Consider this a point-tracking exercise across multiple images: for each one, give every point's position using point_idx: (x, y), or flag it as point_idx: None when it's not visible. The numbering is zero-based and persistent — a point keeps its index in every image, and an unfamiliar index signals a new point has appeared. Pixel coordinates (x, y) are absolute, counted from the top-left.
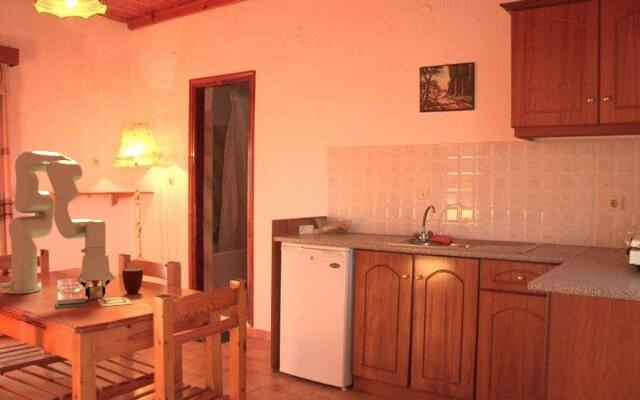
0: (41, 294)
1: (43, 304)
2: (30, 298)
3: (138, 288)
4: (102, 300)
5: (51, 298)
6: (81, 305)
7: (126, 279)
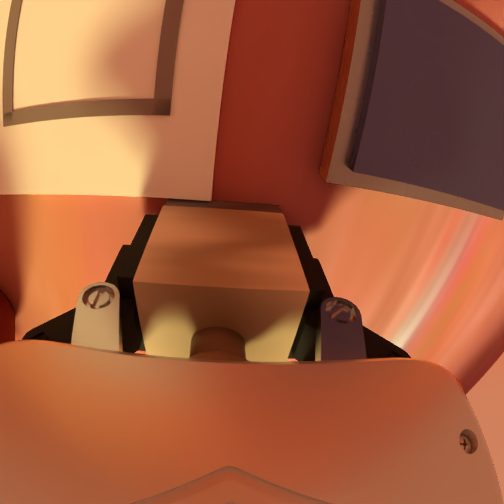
0: None
1: None
2: (456, 367)
3: None
4: (177, 103)
5: (419, 353)
6: None
7: None
